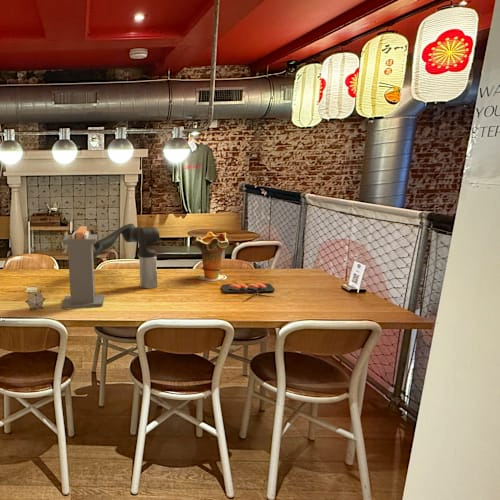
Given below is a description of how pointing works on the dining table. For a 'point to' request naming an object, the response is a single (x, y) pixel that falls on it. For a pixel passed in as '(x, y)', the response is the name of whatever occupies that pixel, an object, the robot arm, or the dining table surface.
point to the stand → (81, 273)
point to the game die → (35, 300)
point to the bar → (81, 232)
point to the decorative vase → (212, 255)
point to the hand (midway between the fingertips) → (82, 231)
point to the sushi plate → (248, 288)
